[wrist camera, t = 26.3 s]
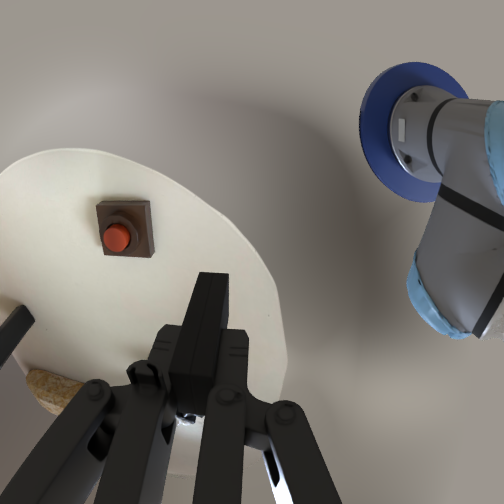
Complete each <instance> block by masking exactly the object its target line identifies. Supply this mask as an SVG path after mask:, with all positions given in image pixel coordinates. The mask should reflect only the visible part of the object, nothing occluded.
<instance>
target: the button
mask: <svg viewBox="0 0 504 504" xmlns="http://www.w3.org/2000/svg"><path fill="white" fill-rule="evenodd" d="M129 242H130V234H129V231H128V230H127V228H126V227H124V226H123V225H121V224H114V225H112V226H111V227H109V228H108V229H107V230H106V231H105V233H104V243H105V245H106V246H107V247H108V248H109V249H110V250H112V251H114V252H120V251H122V250H123V249H124V248H125V247H126V246H127V245H128V244H129Z"/></svg>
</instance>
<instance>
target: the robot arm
mask: <svg viewBox="0 0 504 504" xmlns="http://www.w3.org/2000/svg"><path fill="white" fill-rule="evenodd" d="M387 135H388V141H389V145H390V148H391V151H392V153H393V156H394V157H395V159H396V161H397V162H398V164H399V165H400V166H401V167H402V168H403V169H404V170H405V171H406V172H407V173H409V174H410V175H412V176H414V177H415V178H417V179H420V180H422V181H426V182H432V183H437V182H441V185H440V188H439V192H438V194H437V197H436V200H435V203H434V207H433V210H432V213H431V215H430V218H429V221H428V224H427V226H426V229H425V232H424V234H423V237H422V239H421V242H420V244H419V247H418V248H417V250H416V251H415V253H414V258H413V264H412V266H411V269H410V271H409V274H408V277H407V289H408V295H409V297H410V300H411V302H412V304H413V306H414V307H415V309H416V310H417V312H418V313H419V314H420V316H421V317H422V318H423V319H424V320H425V321H426V322H427V323H428V324H429V325H430V326H432V327H433V328H434V329H435V330H437V331H438V332H440V333H442V334H443V335H446V334H448V335H449V336H450V338H453V339H463V338H466V337H467V336H469V335H471V334H472V333H473V334H474V335H475V336H476V337H478V338H479V339H480V340H486V339H491V338H500V339H501V340H502V341H503V342H504V101H490V100H478V99H463V98H457V97H456V96H454V95H452V94H450V93H449V92H447V91H445V90H443V89H441V88H438V87H434V86H428V85H424V86H415V87H412V88H409V89H407V90H405V91H404V92H403V93H401V94H400V95H399V96H398V97H397V99H396V100H395V102H394V103H393V105H392V107H391V110H390V113H389V117H388V122H387ZM228 317H229V274H227V273H209V272H199V275H198V278H197V281H196V284H195V287H194V290H193V293H192V296H191V299H190V302H189V305H188V308H187V312H186V315H185V318H184V321H183V324H182V326H178V325H168V324H165V325H164V326H163V327H162V328H161V329H160V330H159V331H158V333H157V336H156V339H155V342H154V344H153V346H152V349H151V352H150V354H149V357H148V360H140V361H137V362H134V363H133V364H131V365H130V366H129V367H128V369H127V370H126V372H127V374H128V377H129V379H130V382H131V384H129V385H125V386H113V387H110V386H109V384H108V383H107V382H105V381H104V380H100V379H92V380H90V381H87V382H86V383H85V384H84V385H83V386H82V387H81V388H80V389H79V391H78V392H77V393H76V394H75V396H74V397H73V398H72V399H71V401H70V402H69V403H68V404H67V406H66V407H65V408H64V409H63V411H62V412H61V413H60V415H59V416H58V417H57V418H56V420H55V421H54V422H53V424H52V425H51V426H50V428H49V429H48V430H47V431H46V433H45V434H44V436H43V437H42V438H41V439H40V441H39V442H38V443H37V445H36V446H35V447H34V449H33V450H32V451H31V453H30V454H29V456H28V457H27V458H26V460H25V461H24V462H23V464H22V465H21V467H20V468H19V469H18V471H17V472H16V474H15V475H14V477H13V478H12V479H11V481H10V482H9V484H8V485H7V486H6V488H5V489H4V491H3V492H2V494H1V496H0V504H84V503H85V501H86V499H87V498H88V496H89V495H90V493H91V491H92V490H93V488H94V486H95V485H96V483H97V482H98V480H99V478H100V477H101V479H100V482H99V486H98V490H97V493H96V497H95V500H94V504H161V501H162V496H163V490H164V485H165V480H166V475H167V469H168V464H169V459H170V454H171V449H172V444H173V439H174V434H175V429H176V417H175V414H176V410H177V408H178V411H179V412H180V413H187V414H195V415H204V416H205V419H204V426H203V432H202V439H201V446H200V452H199V459H198V466H197V473H196V481H195V489H194V495H193V504H241V494H242V475H243V456H244V445H246V446H249V447H252V448H255V449H258V450H261V452H262V456H263V459H264V463H265V466H266V469H267V473H268V476H269V480H270V483H271V486H272V489H273V493H274V496H275V499H276V502H277V504H342V502H341V500H340V497H339V495H338V492H337V490H336V488H335V486H334V483H333V481H332V478H331V476H330V473H329V471H328V469H327V466H326V464H325V462H324V459H323V457H322V454H321V452H320V450H319V447H318V445H317V442H316V440H315V437H314V435H313V432H312V430H311V428H310V425H309V423H308V420H307V418H306V416H305V413H304V411H303V409H302V408H301V407H300V406H299V405H298V404H296V403H295V402H292V401H288V400H283V401H277V402H275V403H273V404H270V403H267V402H263V401H261V400H258V399H256V398H255V397H254V396H252V394H251V393H250V392H249V390H248V388H247V372H248V350H249V337H248V335H247V333H246V332H245V330H239V329H227V324H228Z"/></svg>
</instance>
